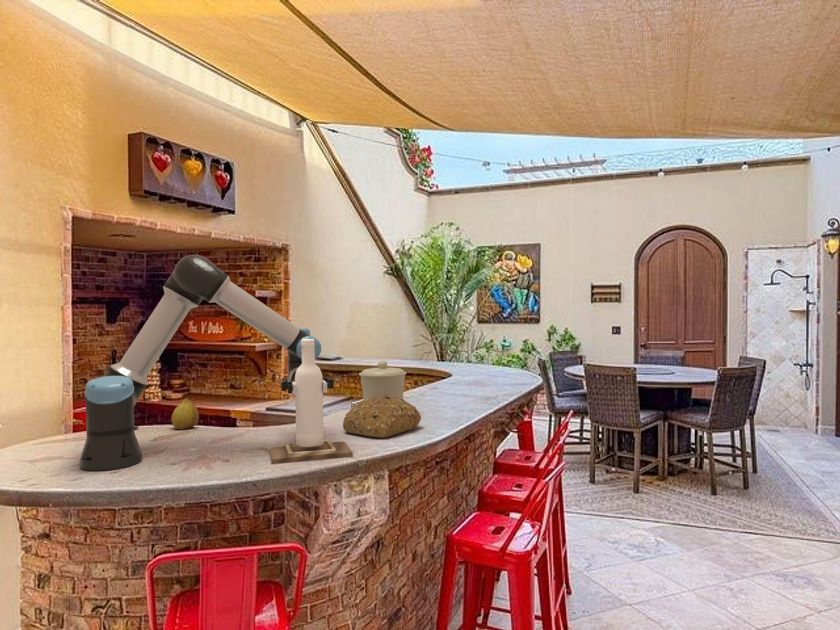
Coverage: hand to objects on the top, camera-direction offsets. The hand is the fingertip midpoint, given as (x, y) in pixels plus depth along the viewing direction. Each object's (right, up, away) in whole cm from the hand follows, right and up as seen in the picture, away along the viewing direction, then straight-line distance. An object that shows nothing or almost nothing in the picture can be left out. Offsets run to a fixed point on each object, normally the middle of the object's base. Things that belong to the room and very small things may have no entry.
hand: (310, 388), depth 163 cm
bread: (+17, -19, +35) cm, 43 cm away
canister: (+16, -18, +61) cm, 66 cm away
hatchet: (-70, -21, +35) cm, 81 cm away
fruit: (-53, -20, +45) cm, 72 cm away
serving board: (-1, -19, +5) cm, 20 cm away
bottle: (-1, -17, +5) cm, 17 cm away
